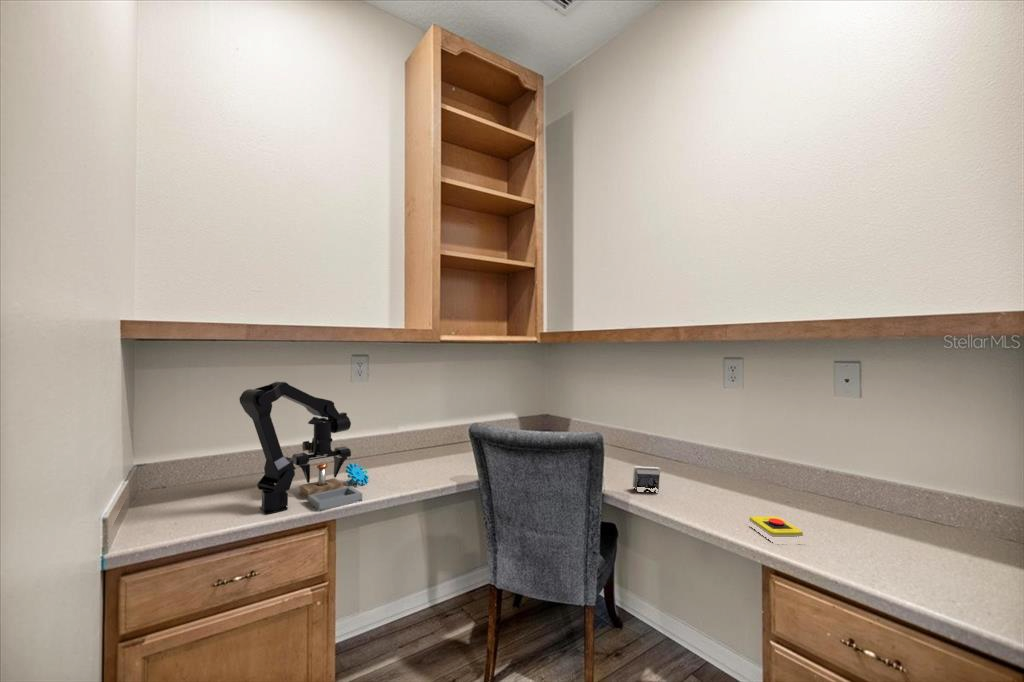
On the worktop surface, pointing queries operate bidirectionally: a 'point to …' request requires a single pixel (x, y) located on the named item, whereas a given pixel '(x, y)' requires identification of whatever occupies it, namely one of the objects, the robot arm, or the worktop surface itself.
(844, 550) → the worktop surface
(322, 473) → the pin
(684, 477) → the worktop surface
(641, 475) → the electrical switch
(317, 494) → the tray
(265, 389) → the robot arm
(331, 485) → the wooden block
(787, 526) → the emergency button
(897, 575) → the worktop surface
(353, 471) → the gear
